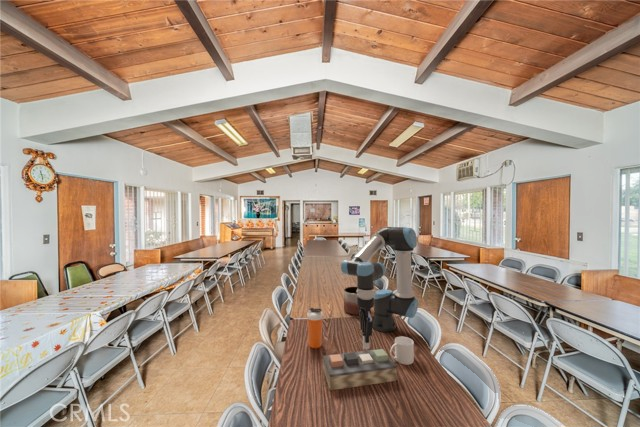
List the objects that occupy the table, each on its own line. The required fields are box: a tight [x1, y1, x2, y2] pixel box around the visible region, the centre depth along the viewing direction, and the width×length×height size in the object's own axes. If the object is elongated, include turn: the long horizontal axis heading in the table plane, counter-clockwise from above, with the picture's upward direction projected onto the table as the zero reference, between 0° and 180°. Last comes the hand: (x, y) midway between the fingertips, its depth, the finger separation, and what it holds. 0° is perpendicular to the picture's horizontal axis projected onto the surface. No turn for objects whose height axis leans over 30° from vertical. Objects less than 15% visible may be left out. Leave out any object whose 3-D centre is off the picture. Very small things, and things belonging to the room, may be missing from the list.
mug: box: [389, 335, 415, 366], centre depth 125 cm, size 12×9×9 cm
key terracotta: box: [328, 353, 343, 368], centre depth 111 cm, size 5×5×4 cm
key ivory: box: [359, 354, 373, 364], centre depth 114 cm, size 5×5×4 cm
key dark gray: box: [344, 351, 358, 366], centre depth 112 cm, size 5×5×4 cm
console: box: [322, 348, 398, 391], centre depth 113 cm, size 30×14×6 cm, turn 101°
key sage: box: [372, 348, 389, 362], centre depth 115 cm, size 5×5×4 cm
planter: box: [343, 286, 360, 316], centre depth 186 cm, size 18×18×16 cm
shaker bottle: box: [306, 307, 324, 349], centre depth 139 cm, size 9×9×20 cm
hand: (366, 348), depth 114 cm, fingers closed
